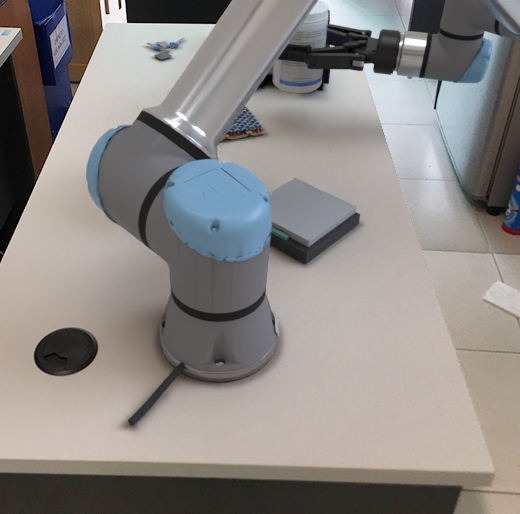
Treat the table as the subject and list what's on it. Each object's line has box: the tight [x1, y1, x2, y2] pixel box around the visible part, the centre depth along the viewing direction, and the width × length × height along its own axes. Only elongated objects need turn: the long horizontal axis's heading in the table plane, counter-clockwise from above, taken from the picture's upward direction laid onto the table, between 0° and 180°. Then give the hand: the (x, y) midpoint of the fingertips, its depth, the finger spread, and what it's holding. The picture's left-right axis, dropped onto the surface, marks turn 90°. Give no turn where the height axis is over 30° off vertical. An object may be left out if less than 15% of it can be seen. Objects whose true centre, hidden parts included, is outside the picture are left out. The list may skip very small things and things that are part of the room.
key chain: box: [146, 37, 185, 60], centre depth 155 cm, size 14×8×1 cm, turn 167°
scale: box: [268, 177, 361, 265], centre depth 100 cm, size 14×14×3 cm
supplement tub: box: [272, 0, 329, 94], centre depth 118 cm, size 10×10×15 cm
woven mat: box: [220, 106, 265, 142], centre depth 125 cm, size 10×11×2 cm
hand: (276, 40), depth 118 cm, fingers closed on supplement tub, 9 cm apart
